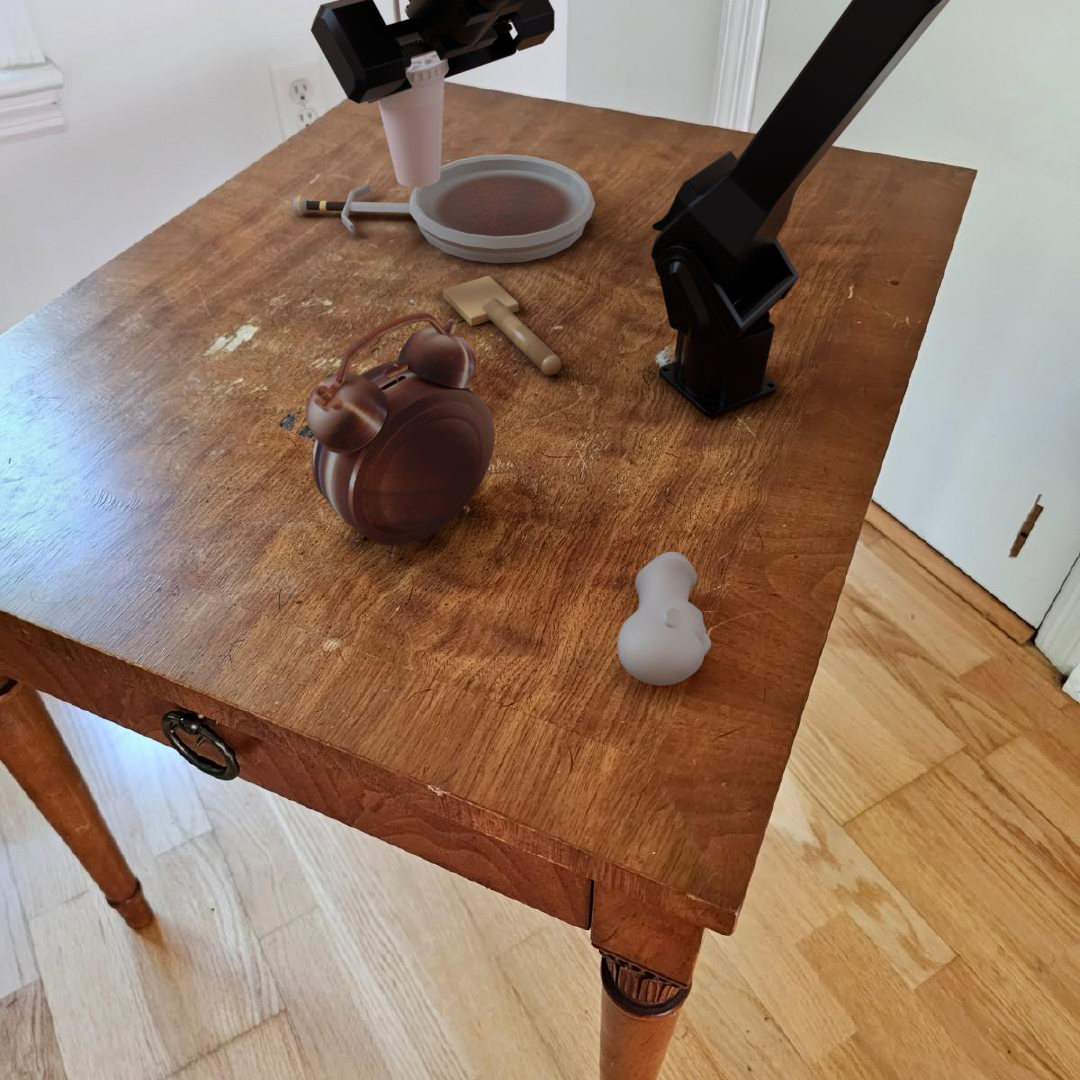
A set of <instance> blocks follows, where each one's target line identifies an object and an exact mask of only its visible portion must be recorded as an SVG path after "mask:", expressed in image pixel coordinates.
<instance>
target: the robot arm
mask: <svg viewBox="0 0 1080 1080" xmlns="http://www.w3.org/2000/svg"><path fill="white" fill-rule="evenodd" d="M950 1H951V0H851V1H850V2H849V4H848V5H847V6H846V7H845V9H844V11H843V12H842V13H841V15H840V16H839V18H838V19H837V20H836V22H835V23H834V25H833V26H832V27H831V29H830V30H829V31H828V33H827V34H826V36H825V37H824V39H823V40H822V41H821V42H820V44H819V45H818V47H817V48H816V50H815V51H814V52H813V54H812V55H811V57H810V58H809V59H808V61H807V62H806V63H805V65H804V67H803V68H802V69H801V70H800V72H799V73H798V75H797V76H796V78H795V79H794V80H793V82H792V83H791V85H789V88H787V90H786V92H785V93H784V94H783V96H782V97H781V99H779V101H778V103H777V104H776V105H775V107H774V108H773V110H772V111H771V112H770V114H769V115H768V117H767V118H766V119H765V121H764V122H763V123H762V125H761V126H760V128H759V129H758V130H757V132H756V133H755V135H754V136H753V137H752V139H751V141H749V143H748V144H747V146H746V147H745V149H743V151H742V153H741V154H740V155H739V157H738V158H737V157H736V155H735V154H734V153H733V151H732V150H728V151H726V152H725V153H723V154H721V156H718V158H716V159H715V160H713V161H712V162H710V163H709V164H707V165H706V166H704V167H703V168H702V169H700V170H699V171H698V172H696V173H694V174H693V175H692V176H690V177H688V178H687V179H686V180H684V181H683V183H682V185H681V186H680V188H678V190H677V192H676V194H675V197H674V199H673V202H672V204H671V206H670V208H669V209H668V212H667V213H666V214H665V215H664V216H662V218H660V219H658V220H657V221H656V222H654V223H653V224H652V225H651V227H652V229H653V230H654V231H658V232H659V233H658V234H657V236H656V237H655V239H654V240H653V241H654V242H653V244H652V245H651V253H650V257H651V259H652V260H653V263H654V268H655V272H656V273H657V276H658V279H659V282H660V287H661V291H662V292H661V293H662V295H663V301H664V305H665V310H666V315H667V318H668V325H669V326H670V328H671V329H674V330H676V331H677V333H676V334H677V335H676V342H675V349H674V359H675V361H672V362H670V363H667V364H664V365H662V366H660V367H659V369H658V376H659V377H660V378H661V379H662V380H664V382H666V383H667V384H668V385H669V386H671V388H672V389H674V390H675V391H676V392H677V393H678V394H679V395H681V397H683V398H684V399H685V400H686V401H688V403H690V404H691V405H692V406H693V407H694V408H696V409H697V411H699V413H701V414H702V415H704V417H706V418H707V419H714V418H716V417H717V418H718V417H720V416H723V415H725V414H727V413H730V412H732V411H735V410H737V409H739V408H741V407H744V406H747V405H749V404H752V403H754V402H756V401H760V400H761V399H764V398H766V397H769V396H771V395H775V393H777V389H778V384H777V383H776V382H775V381H774V380H772V379H771V378H769V377H768V376H767V375H766V370H767V366H768V362H769V358H770V357H769V356H770V352H771V347H772V344H773V343H772V342H773V338H774V333H775V328H776V326H775V324H774V323H772V322H771V321H770V318H771V313H770V310H771V309H773V308H774V307H775V306H776V305H777V304H778V303H780V301H782V300H784V299H785V298H786V297H788V295H789V293H791V291H792V289H793V287H794V286H795V284H796V283H797V281H798V280H799V278H800V277H799V273H798V271H797V270H796V268H795V266H794V264H793V263H792V262H791V260H790V258H789V257H788V254H787V253H786V251H785V250H784V248H783V247H782V244H781V243H780V242H779V239H778V236H779V234H780V232H781V231H782V229H783V227H784V225H785V223H786V221H787V220H788V217H789V214H790V211H791V208H792V204H793V201H794V198H795V195H796V193H797V191H798V189H799V187H800V186H801V184H802V183H803V182H804V181H805V180H806V178H808V176H809V174H810V173H811V172H812V171H813V170H814V169H815V167H816V166H817V165H818V164H819V162H820V161H821V160H822V159H823V157H824V156H825V155H826V153H827V152H828V151H829V150H830V149H831V148H832V146H833V145H834V144H835V143H836V142H837V140H838V139H839V138H840V137H841V135H842V134H843V133H844V131H845V130H846V129H847V128H848V127H849V125H850V124H851V123H852V122H853V121H854V119H855V118H856V117H857V116H858V114H859V113H860V112H861V111H862V110H863V109H864V108H865V106H866V105H867V104H868V102H869V101H870V99H872V97H873V96H874V95H875V94H876V92H877V91H878V90H879V89H880V87H881V86H882V85H883V84H884V82H885V81H886V80H887V79H888V78H889V76H890V75H891V74H892V73H893V71H894V70H895V69H896V68H897V66H898V65H899V64H900V63H901V61H902V60H903V59H904V58H905V56H906V55H907V54H908V53H909V52H910V50H912V48H913V47H914V46H915V44H917V42H918V41H919V39H920V38H921V37H922V36H923V34H924V33H925V32H926V31H927V30H928V28H929V27H930V26H931V25H932V24H933V22H934V21H935V20H936V19H937V17H938V16H939V15H940V13H941V12H942V11H943V10H944V9H945V7H946V6H947V5H948V4H949V2H950ZM408 2H409V3H408V4H407V5H406V6H405V8H404V12H405V14H406V16H407V19H402V20H401V21H399V22H396V23H394V22H392V23H389V24H387V22H386V21H385V20H384V17H383V15H382V14H381V12H380V9H379V8H378V6H377V4H376V3H375V1H374V0H334V1H330V2H326V3H322V4H320V5H319V7H318V10H317V12H316V14H315V16H314V18H313V20H312V24H311V28H310V32H311V34H312V36H313V38H314V39H315V41H316V43H317V45H318V46H319V48H320V50H321V52H322V54H323V55H324V58H325V59H326V61H327V62H328V64H329V66H330V69H331V70H332V72H333V74H334V76H335V78H336V79H337V81H338V83H339V85H340V87H341V88H342V90H343V92H344V94H345V96H346V97H347V99H348V100H350V101H352V102H354V103H356V104H358V105H360V104H363V103H366V102H367V104H369V105H370V104H373V103H376V102H378V101H379V100H382V99H384V98H387V97H390V96H392V95H395V94H398V93H401V92H404V91H406V90H409V89H411V88H412V86H411V84H410V82H409V80H408V78H407V76H406V71H408V70H409V68H410V67H411V64H412V62H411V59H414V58H417V57H421V56H424V55H427V54H430V53H433V52H436V53H437V55H438V57H439V59H440V61H442V60H445V59H447V61H448V66H449V70H448V72H447V74H445V76H444V80H446V79H449V78H451V77H454V76H457V75H459V74H463V73H465V72H469V71H471V70H474V69H477V68H480V67H483V66H486V65H488V64H491V63H494V62H498V61H500V60H503V59H506V58H509V57H512V56H514V55H516V53H517V51H518V52H522V51H524V50H528V49H530V48H533V47H536V46H539V45H542V44H544V43H545V41H547V39H548V38H549V37H550V36H551V35H552V33H553V32H554V31H555V24H556V23H555V22H556V21H555V19H556V17H555V15H556V14H555V13H556V12H555V9H554V6H553V5H552V4H551V2H550V0H408ZM513 29H515V32H516V35H515V36H514V37H513V35H512V34H511V31H512V30H513Z"/></svg>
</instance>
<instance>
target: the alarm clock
mask: <svg viewBox="0 0 1080 1080" xmlns="http://www.w3.org/2000/svg"><path fill="white" fill-rule="evenodd" d="M421 322H426V323H429V324H430V325H431V326H432V327H424V328H421V329H418V330H417V331H414V332H413V333H412V334H411V335H410V336H409V337H408V338H407V340H406V341H405V342H404V344H403V346H402V348H401V349H400V352H399V354H398V357H397V359H393V360H390V361H386V362H383V363H381V364H379V365H376V366H375V367H372V368H370V369H368V370H367V371H366V372H364V373H362V374H357V373H353V372H349V369H350V366H351V363H352V361H353V360H354V358H355V357H356V356H358V354H359V353H360V352H362V351H363V350H364V349H366V348H367V347H369V345H371V344H372V343H374V342H375V341H377V340H378V339H379V338H381V337H383V336H385V335H388V334H389V333H392V332H394V331H395V330H398V329H400V328H402V327H406V326H408V325H411V324H412V325H413V324H416V323H421ZM456 329H457V323H456V320H455V319H453V318H449V319H447V320H446V321H445V322H444V325H441V324H440V322H439V321H438V319H436V318H435V317H434V316H433V315H432V314H430V313H427V312H417V313H412V314H408V315H404V316H401V317H398V318H395V319H393V320H391V321H389V322H386V323H385V324H381V325H380V326H378V327H377V328H375V329H373V330H372V331H371V332H368V333H367V334H366V335H364V336H363V337H361V338H360V339H359V340H357V341H356V342H355V343H354V344H352V345H351V346H350V347H348V349H347V350H346V351H345V353H344V354H343V356H342V358H341V361H340V365H339V368H338V371H337V373H335V374H332V375H329V376H328V377H326V378H324V379H323V380H322V381H320V382H319V383H318V384H317V385H316V386H315V387H314V388H313V390H312V391H311V393H310V395H309V397H308V399H307V402H306V406H305V407H306V408H305V419H306V422H307V425H308V428H309V430H310V432H311V433H312V435H313V436H314V438H315V439H314V441H313V442H314V443H313V448H312V455H311V471H312V477H313V480H314V484H315V485H316V488H317V489H318V491H319V492H320V494H321V495H322V496H323V498H324V499H325V500H326V502H327V503H328V504H329V505H330V506H331V508H332V509H333V510H334V511H335V513H337V515H338V516H339V517H340V518H341V519H342V520H343V521H344V522H346V524H348V525H349V526H350V527H352V528H353V529H354V530H356V531H358V532H357V533H356V537H357V539H359V540H363V539H364V538H365V537H366V538H367V539H368V540H370V541H372V542H374V543H376V544H378V545H381V546H388V551H387V552H386V557H387V558H388V559H394V557H395V551H396V549H397V547H399V546H406V545H410V544H413V543H417V542H420V541H421V540H423V539H425V538H428V537H430V536H432V535H433V534H435V533H436V532H438V531H439V530H441V529H442V528H444V527H445V526H446V525H447V524H449V523H450V522H451V521H452V520H453V519H454V518H456V516H458V515H459V514H460V512H461V511H462V512H463V513H465V514H467V513H468V512H470V509H471V507H469V506H468V505H467V504H468V503H469V502H470V501H471V500H472V498H473V497H474V495H475V493H476V492H477V491H478V489H479V488H480V486H481V484H482V482H483V480H484V478H485V476H486V474H487V472H488V469H489V468H490V465H491V461H492V458H493V453H494V450H495V442H496V441H495V440H496V428H495V423H494V418H493V415H492V413H491V410H490V408H489V407H488V405H487V404H486V402H484V401H483V400H482V399H481V398H480V397H479V396H478V395H476V393H474V392H473V391H472V390H471V389H470V387H472V385H473V382H474V379H475V374H476V369H477V368H476V367H477V359H476V355H475V351H474V350H473V348H472V346H471V345H470V343H469V342H468V341H467V340H466V339H464V338H463V337H465V334H464V333H462V332H460V331H456Z"/></svg>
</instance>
